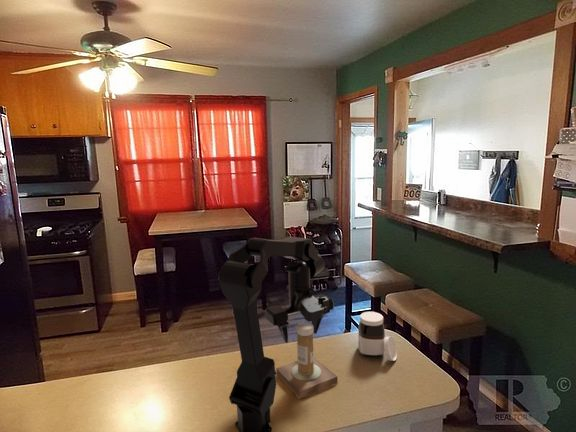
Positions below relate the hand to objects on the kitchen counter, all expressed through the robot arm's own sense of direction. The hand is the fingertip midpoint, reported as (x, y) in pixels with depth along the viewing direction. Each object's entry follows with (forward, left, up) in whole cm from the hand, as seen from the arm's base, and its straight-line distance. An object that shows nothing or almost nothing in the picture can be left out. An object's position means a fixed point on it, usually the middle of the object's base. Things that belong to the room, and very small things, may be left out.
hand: (300, 337), depth 102 cm
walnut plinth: (0, -3, -11) cm, 11 cm away
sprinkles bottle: (0, -3, -9) cm, 9 cm away
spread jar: (+25, -4, -11) cm, 28 cm away
